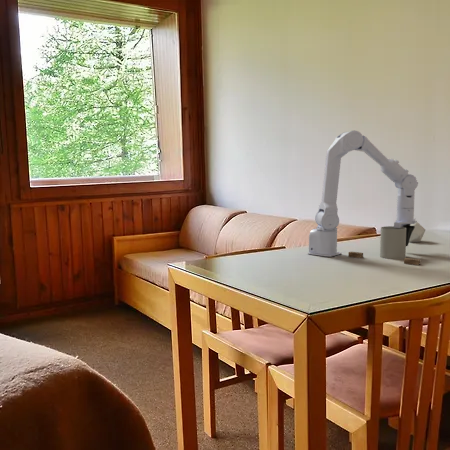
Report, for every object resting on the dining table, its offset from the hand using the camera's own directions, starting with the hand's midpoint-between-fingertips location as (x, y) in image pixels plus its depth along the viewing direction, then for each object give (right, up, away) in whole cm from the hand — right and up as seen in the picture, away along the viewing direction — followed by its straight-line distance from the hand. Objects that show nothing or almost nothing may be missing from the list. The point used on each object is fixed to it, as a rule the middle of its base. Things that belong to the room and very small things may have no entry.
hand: (404, 245), depth 180 cm
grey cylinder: (-7, -4, -7) cm, 10 cm away
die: (+12, +1, +24) cm, 27 cm away
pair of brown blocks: (-12, -4, -13) cm, 18 cm away
